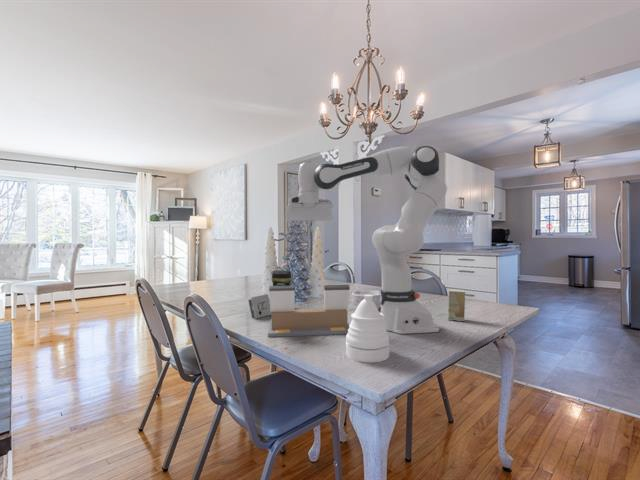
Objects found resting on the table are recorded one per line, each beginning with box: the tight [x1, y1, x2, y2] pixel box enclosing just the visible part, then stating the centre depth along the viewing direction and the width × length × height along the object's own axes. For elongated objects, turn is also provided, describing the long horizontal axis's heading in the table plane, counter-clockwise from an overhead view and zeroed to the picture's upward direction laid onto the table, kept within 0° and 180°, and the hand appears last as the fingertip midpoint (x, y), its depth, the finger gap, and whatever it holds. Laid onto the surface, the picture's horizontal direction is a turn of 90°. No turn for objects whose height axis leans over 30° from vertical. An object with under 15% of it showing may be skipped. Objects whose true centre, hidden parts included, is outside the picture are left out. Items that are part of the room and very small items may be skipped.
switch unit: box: [267, 307, 350, 338], centre depth 124 cm, size 30×14×7 cm, turn 96°
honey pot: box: [345, 295, 390, 363], centre depth 99 cm, size 13×13×18 cm
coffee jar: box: [271, 269, 293, 286], centre depth 159 cm, size 10×8×19 cm
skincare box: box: [447, 288, 466, 322], centre depth 136 cm, size 6×4×12 cm
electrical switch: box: [248, 294, 272, 320], centre depth 146 cm, size 9×5×9 cm, turn 141°
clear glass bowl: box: [351, 289, 381, 310], centre depth 156 cm, size 15×15×8 cm
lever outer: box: [268, 285, 296, 311], centre depth 122 cm, size 9×2×9 cm, turn 96°
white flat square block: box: [323, 284, 351, 310], centre depth 123 cm, size 9×2×9 cm, turn 96°
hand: (309, 231), depth 144 cm, fingers closed
